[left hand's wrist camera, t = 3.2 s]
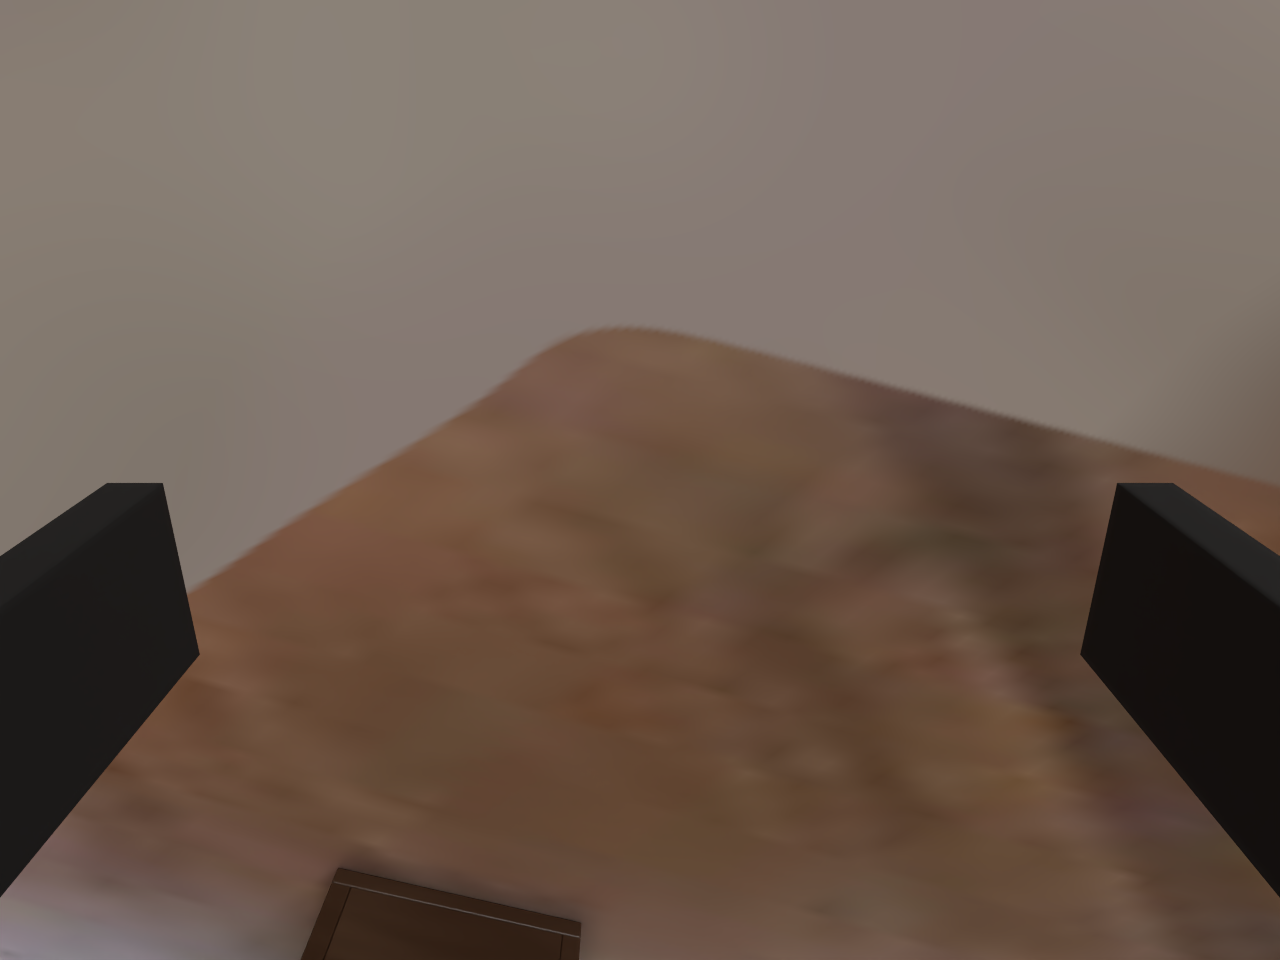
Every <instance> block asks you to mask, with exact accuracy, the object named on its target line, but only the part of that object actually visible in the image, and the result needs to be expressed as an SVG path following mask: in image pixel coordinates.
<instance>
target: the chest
mask: <svg viewBox="0 0 1280 960" xmlns="http://www.w3.org/2000/svg"><path fill="white" fill-rule="evenodd" d="M580 936H581V923H579V922H575V921H570V920H566V919H561V918H557V917H552V916H548V915H544V914H539V913H535V912H530V911H526V910H522V909H517V908H513V907H508V906H504V905H499V904H495V903H491V902H486V901H482V900H477V899H473V898H469V897H464V896H460V895H455V894H451V893H446V892H442V891H438V890H433V889H429V888H424V887H420V886H416V885H411V884H407V883H402V882H398V881H393V880H389V879H385V878H380V877H376V876H371V875H367V874H363V873H358V872H354V871H349V870H345V869H340V868H339V869H338V870H337V872H336V874H335V877H334V879H333V882H332V884H331V886H330V889H329V891H328V894H327V896H326V899H325V901H324V904H323V906H322V909H321V911H320V913H319V916H318V918H317V921H316V923H315V926H314V928H313V931H312V933H311V936H310V938H309V941H308V943H307V946H306V948H305V951H304V953H303V955H302V958H301V960H579V951H580Z"/></svg>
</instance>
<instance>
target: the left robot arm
mask: <svg viewBox="0 0 1280 960" xmlns="http://www.w3.org/2000/svg"><path fill="white" fill-rule="evenodd" d="M199 655H200V654H199V649H198V645H197V640H196V635H195V631H194V626H193V621H192V617H191V612H190V607H189V603H188V598H187V593H186V589H185V584H184V580H183V575H182V570H181V566H180V561H179V556H178V552H177V547H176V542H175V538H174V533H173V528H172V524H171V519H170V515H169V510H168V505H167V501H166V496H165V491H164V487H163V483H107V484H105V485H104V486H102V487H101V488H99V489H98V490H96V491H95V492H93V493H92V494H90V495H89V496H87V497H86V498H85V499H83V500H82V501H80V502H79V503H77V504H76V505H74V506H73V507H71V508H70V509H69V510H67V511H66V512H64V513H63V514H61V515H60V516H58V517H57V518H55V519H54V520H52V521H51V522H50V523H48V524H47V525H45V526H44V527H42V528H41V529H39V530H38V531H36V532H35V533H33V534H32V535H31V536H29V537H28V538H26V539H25V540H23V541H22V542H20V543H19V544H17V545H16V546H15V547H13V548H12V549H10V550H9V551H7V552H6V553H4V554H3V555H1V556H0V897H1V896H2V895H3V893H4V892H5V891H6V890H7V888H8V887H9V886H10V885H11V884H12V882H13V881H14V880H15V879H16V878H17V876H18V875H19V874H20V873H21V871H22V870H23V869H24V868H25V867H26V865H27V864H28V863H29V862H30V860H31V859H32V858H33V857H34V856H35V854H36V853H37V852H38V851H39V850H40V848H41V847H42V846H43V845H44V843H45V842H46V841H47V840H48V839H49V837H50V836H51V835H52V834H53V832H54V831H55V830H56V829H57V828H58V826H59V825H60V824H61V823H62V821H63V820H64V819H65V818H66V817H67V815H68V814H69V813H70V812H71V811H72V809H73V808H74V807H75V806H76V804H77V803H78V802H79V801H80V800H81V798H82V797H83V796H84V795H85V793H86V792H87V791H88V790H89V789H90V787H91V786H92V785H93V784H94V782H95V781H96V780H97V779H98V778H99V776H100V775H101V774H102V773H103V772H104V770H105V769H106V768H107V767H108V765H109V764H110V763H111V762H112V761H113V759H114V758H115V757H116V756H117V754H118V753H119V752H120V751H121V750H122V748H123V747H124V746H125V745H126V744H127V742H128V741H129V740H130V739H131V737H132V736H133V735H134V734H135V733H136V731H137V730H138V729H139V728H140V726H141V725H142V724H143V723H144V722H145V720H146V719H147V718H148V717H149V715H150V714H151V713H152V712H153V711H154V709H155V708H156V707H157V706H158V705H159V703H160V702H161V701H162V700H163V698H164V697H165V696H166V695H167V694H168V692H169V691H170V690H171V689H172V687H173V686H174V685H175V684H176V683H177V681H178V680H179V679H180V678H181V676H182V675H183V674H184V673H185V672H186V670H187V669H188V668H189V667H190V666H191V664H192V663H193V662H194V661H195V659H196V658H197V657H198V656H199ZM1080 655H1081V656H1082V657H1083V658H1084V659H1085V661H1086V662H1087V663H1088V664H1089V666H1090V667H1091V668H1092V669H1093V670H1094V672H1095V673H1096V674H1097V675H1098V676H1099V678H1100V679H1101V680H1102V681H1103V683H1104V684H1105V685H1106V686H1107V687H1108V689H1109V690H1110V691H1111V692H1112V694H1113V695H1114V696H1115V697H1116V698H1117V700H1118V701H1119V702H1120V703H1121V705H1122V706H1123V707H1124V708H1125V709H1126V711H1127V712H1128V713H1129V714H1130V715H1131V717H1132V718H1133V719H1134V720H1135V722H1136V723H1137V724H1138V725H1139V726H1140V728H1141V729H1142V730H1143V731H1144V733H1145V734H1146V735H1147V736H1148V737H1149V739H1150V740H1151V741H1152V742H1153V744H1154V745H1155V746H1156V747H1157V748H1158V750H1159V751H1160V752H1161V753H1162V754H1163V756H1164V757H1165V758H1166V759H1167V761H1168V762H1169V763H1170V764H1171V765H1172V767H1173V768H1174V769H1175V770H1176V772H1177V773H1178V774H1179V775H1180V776H1181V778H1182V779H1183V780H1184V781H1185V782H1186V784H1187V785H1188V786H1189V787H1190V789H1191V790H1192V791H1193V792H1194V793H1195V795H1196V796H1197V797H1198V798H1199V800H1200V801H1201V802H1202V803H1203V804H1204V806H1205V807H1206V808H1207V809H1208V811H1209V812H1210V813H1211V814H1212V815H1213V817H1214V818H1215V819H1216V820H1217V821H1218V823H1219V824H1220V825H1221V826H1222V828H1223V829H1224V830H1225V831H1226V832H1227V834H1228V835H1229V836H1230V837H1231V839H1232V840H1233V841H1234V842H1235V843H1236V845H1237V846H1238V847H1239V848H1240V850H1241V851H1242V852H1243V853H1244V854H1245V856H1246V857H1247V858H1248V859H1249V860H1250V862H1251V863H1252V864H1253V865H1254V867H1255V868H1256V869H1257V870H1258V871H1259V873H1260V874H1261V875H1262V876H1263V878H1264V879H1265V880H1266V881H1267V882H1268V884H1269V885H1270V886H1271V887H1272V888H1273V890H1274V891H1275V892H1276V893H1277V895H1278V896H1279V897H1280V556H1279V555H1277V554H1276V553H1274V552H1273V551H1271V550H1270V549H1268V548H1267V547H1265V546H1264V545H1263V544H1261V543H1260V542H1258V541H1257V540H1255V539H1254V538H1252V537H1251V536H1249V535H1248V534H1246V533H1245V532H1244V531H1242V530H1241V529H1239V528H1238V527H1236V526H1235V525H1233V524H1232V523H1230V522H1229V521H1228V520H1226V519H1225V518H1223V517H1222V516H1220V515H1219V514H1217V513H1216V512H1214V511H1213V510H1211V509H1210V508H1209V507H1207V506H1206V505H1204V504H1203V503H1201V502H1200V501H1198V500H1197V499H1195V498H1194V497H1193V496H1191V495H1190V494H1188V493H1187V492H1185V491H1184V490H1182V489H1181V488H1179V487H1178V486H1176V485H1175V484H1174V483H1117V487H1116V491H1115V496H1114V501H1113V505H1112V510H1111V515H1110V519H1109V524H1108V528H1107V533H1106V538H1105V542H1104V547H1103V552H1102V556H1101V561H1100V566H1099V570H1098V575H1097V580H1096V584H1095V589H1094V593H1093V598H1092V603H1091V607H1090V612H1089V617H1088V621H1087V626H1086V631H1085V635H1084V640H1083V645H1082V649H1081V654H1080Z"/></svg>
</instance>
